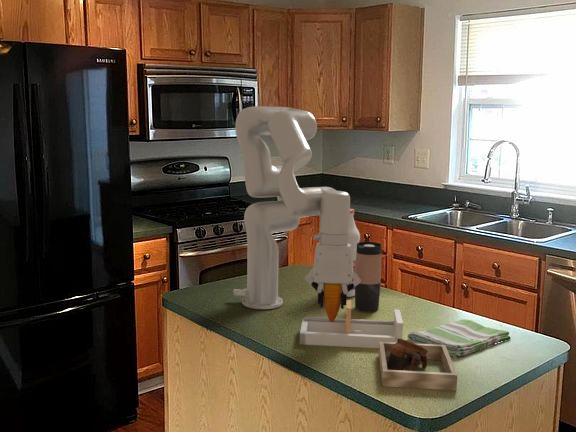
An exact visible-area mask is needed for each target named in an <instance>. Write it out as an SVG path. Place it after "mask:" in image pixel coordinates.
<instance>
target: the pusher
mask: <svg viewBox="0 0 576 432" xmlns="http://www.w3.org/2000/svg"><path fill="white" fill-rule="evenodd" d="M345 307H346V309H345V310H346V311H345V319H346V334H362V331H358V330H351V319H352V300H351V299H347V302H346V305H345Z"/></svg>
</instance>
